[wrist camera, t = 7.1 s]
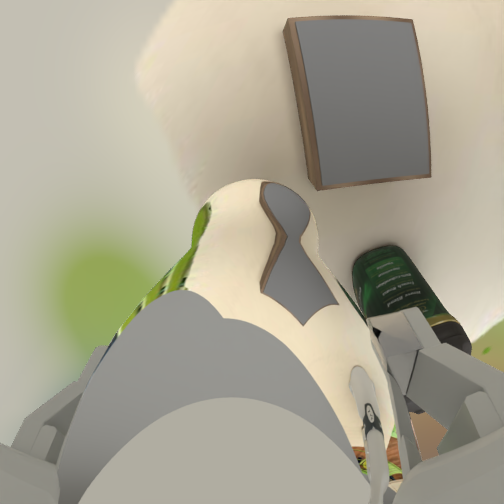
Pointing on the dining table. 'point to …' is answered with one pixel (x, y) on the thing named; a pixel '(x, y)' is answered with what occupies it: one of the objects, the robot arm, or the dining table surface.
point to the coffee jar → (403, 296)
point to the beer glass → (243, 379)
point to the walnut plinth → (359, 99)
